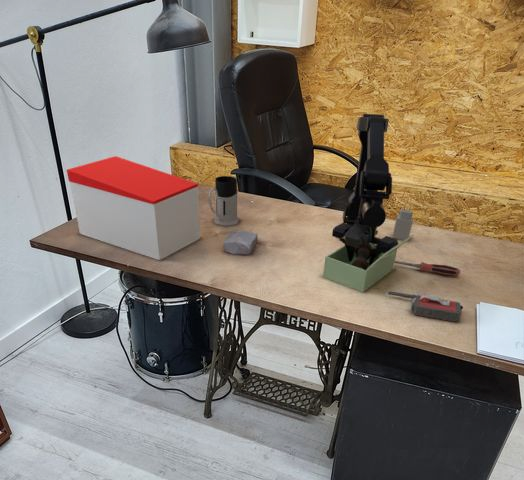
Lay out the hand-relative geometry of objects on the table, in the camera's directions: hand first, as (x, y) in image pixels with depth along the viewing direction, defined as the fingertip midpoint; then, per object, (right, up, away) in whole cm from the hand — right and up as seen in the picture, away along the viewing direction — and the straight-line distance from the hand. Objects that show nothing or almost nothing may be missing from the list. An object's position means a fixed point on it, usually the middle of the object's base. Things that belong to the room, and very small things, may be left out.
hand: (359, 264), depth 142 cm
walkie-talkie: (+14, -15, -14) cm, 25 cm away
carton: (0, -2, +2) cm, 3 cm away
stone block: (-37, +8, +14) cm, 40 cm away
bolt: (0, -1, +1) cm, 1 cm away
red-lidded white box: (-71, +13, +18) cm, 74 cm away
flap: (+7, +2, -9) cm, 11 cm away
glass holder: (-44, +20, +29) cm, 56 cm away
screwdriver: (+19, -1, +5) cm, 19 cm away
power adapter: (+19, +14, +25) cm, 35 cm away
